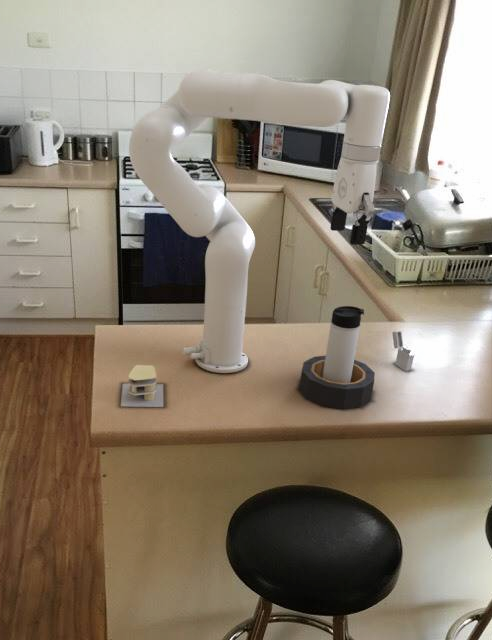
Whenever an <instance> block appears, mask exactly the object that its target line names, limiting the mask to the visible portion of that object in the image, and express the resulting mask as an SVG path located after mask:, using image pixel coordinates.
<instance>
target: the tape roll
mask: <svg viewBox="0 0 492 640" xmlns="http://www.w3.org/2000/svg"><path fill="white" fill-rule="evenodd" d="M325 358H326V355H317V356H313V357H311V358H309V359H307V360H305V361H303V363H302V368H301V373H300V379H299V380H300V381H299V388H298V390H299V391H300V392H301V394H302V395H303V396H304V397H305V399H306V400H308V401H310V402H313V403H315V404H317V405H320V406H322V407H325V408H332V409H339V410H348V409H356V408H361V407H363V406H364V405H366V404H368V403H369V402H371V400H372V395H373V390H374V384H375V375H376V374H375V373H376V372H374V370H373V369H371V368H370V367H369V366H368V364H367V363H364V362H362V361H359V360H357V359H354V364H353V369H352V375H351V381H350V383H338V382H331V381H328V380H326V379H324V378H323V371H324V365H325Z"/></svg>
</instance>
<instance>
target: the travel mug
mask: <svg viewBox="0 0 492 640" xmlns="http://www.w3.org/2000/svg"><path fill="white" fill-rule="evenodd" d="M333 309H334V310H332V314H331V319H330V326H329V333H328V337H327V338H328V339H327V344H326V345H327V346H326V352H325V356H326V358H325V365H324V371H323V378H324V379H326V380H328V381H331V382H338V383H350V381H351V375H352V369H353V364H354V360H355V358H356V352H357V346H358V341H359V336H360V335H359V333H360V329H361V328H360V327H361V322H362V316H364V315H365V310H364V308H360V307H357V306H352V305H343V306H338V307H335V308H333Z"/></svg>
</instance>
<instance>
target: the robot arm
mask: <svg viewBox="0 0 492 640" xmlns="http://www.w3.org/2000/svg"><path fill="white" fill-rule="evenodd" d="M390 97H391V95H390V91H389V89H388V88H386V87H384V86H381V85H374V84H358V85H357V84H353V83H348V82H343V81H341V80H335V79H327V80H323V81H321V82H320V83H312V82H311V83H310V82H294V81H286V80H279V79H276V78H272V77H271V76H268V75H266V74H261V73H250V72H248V73H247V72H228V71H227V72H225V71H216V70H214V69H212V68H208V67H207V68H206V67H205V68H199V69H196V70H193V71H190V72H189V73H187V74H186V75H185V76H184V77H183V78H182V80H181V82H180V84H179V86H178V89H177V90H176V91H175V92H174V93H173V94H172V95H171V96H170V97H168V98H167V100H166V101H164V103H162V104H161V105H160V106H159V107H158V108H156V109H153V110H151V111H149V112H147V113H146V114H143V115H142V116H141V117H140V119H138V120H137V122H136V123H135V124H134V127H133V129H132V131H131V134H130V138H129V143H128V154H129V159H130V163H131V166H132V168H133V170H134V171H135V174H136V175H137V177H138V178H139V179H140V181H141V182H142V184H144V185H145V187H146V188H147V189H148V190H149V191H150V192H151V193H152V195H153V196H154V198H156V200H157V201H158V202H159V203H160V205H161V206H162V207H163V208H164V209H165V211H166V212H167V213H168V215H170V216H171V217H172V219H173V220H174V221H175V223H176V224H177V225H178V226H179V228H181V230H182V231H183V232H184V233H186V234H187V235H188V236H190V237H194V238H202V237H206V238H207V240H208V241H209V243H208V246H207V248H206V252H205V258H204V269H205V270H204V271H205V272H204V273H205V284H204V285H205V289H204V292H205V293H204V311H203V312H204V313H203V330H202V333H203V334H202V340H200V341H198V345H195V346H194V347H193V346H192V347H191V346H190V347H188V346H187V347H182V351H181V353H182V356H183V357H189V356H190V359H191V360H194V361H195V363H196V365H197V366H198V367H200V368H201V369H203V370H205V371H208V372H212V373H215V374H231V373H238V372H240V371H242V370H244V369H246V367H247V366H248V363H249V357H248V356H247V355H246V354H245V353H244V352H243V346H244V333H245V323H246V310H247V299H248V298H247V297H248V281H249V280H248V279H249V267H250V260H251V258H252V257H253V253H254V250H255V247H256V237H255V234H254V232H253V230H252V228H251V226H250V225H249V224H248V223H247V221H246V220H245V219H244V218H243V217H242V215H241V214H240V213H239V212H238V210H237V209H236V208H235V207H234V206H233V204H232V203H231V202H230V201H229V200H228V198H227V197H226V196H225V194H223V193H222V192H221V191H220V190H219V189H218V188H217V187H214V186H212V185H211V184H203V183H202V184H197V182H195V180H193V178H192V177H191V175H190V174H189V173H188V172H187V171H186V170H185V168H184V167H183V166H182V165H181V164H180V163H178V162H177V161H176V160H175V159H174V158H173V156H172V150H173V149H174V148H177V146H179V145H180V144H181V143H183V142H184V141H185V140H186V139H187V138H188V137H189V136H190V135H191V134H192V133H193V132H194V131H196V130H197V129H198V128H199V127H200V126H201V125H202V124H203V123H204V122H206V121H207V120H208V119H209V118H210V119H226V120H227V119H230V120H241V121H255V122H262V123H269V124H271V123H272V124H278V125H279V124H280V125H285V126H297V127H299V126H300V127H312V128H313V127H315V128H328V127H332V126H335V125H337V124H339V123H340V122H341V121H345V128H344V136H343V139H342V140H343V142H342V148H341V153H340V154H341V155H340V159H339V163H338V165H337V169H336V173H335V177H334V181H333V182H334V183H333V188H332V193H331V194H332V195H331V203H332V204H333V205H332V208H331V209H332V215H331V222H330V227H329V228H330V231H332V232H334V231H335V232H336V231H337V232H338V231H345V230H346V225H347V224H346V223H347V217H348V215H351V214H352V215H353V221H354V224H352V225H351V226H352V227H351V231H350V238H349V244H350V245H351V246H352V245H353V246H354V245H355V246H357V245H365V244H366V239H367V233H368V227H369V226H370V223H371V221H372V220H373V215H374V213H375V211H376V208H375V205H374V197H375V190H376V181H377V180H376V179H377V167H378V166H377V165H378V164H379V161H380V154H381V149H382V145H383V138H384V133H385V127H386V122H387V115H388V110H389V104H390V99H391V98H390Z"/></svg>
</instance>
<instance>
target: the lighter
mask: <svg viewBox="0 0 492 640" xmlns="http://www.w3.org/2000/svg"><path fill="white" fill-rule="evenodd" d="M391 335H392V341H393V348H394V349H397V352H396V353H397V354H396V358H395V364H394V365H395V366H397V367H399V368H400V369H402V370H403V371H404V372H409V371H411V370H412V368H413V361H414V359H415V353H413V352H412V348H410V347H409V346H407V345H404V341H403V333H402V330H395V331H392V333H391Z"/></svg>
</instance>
